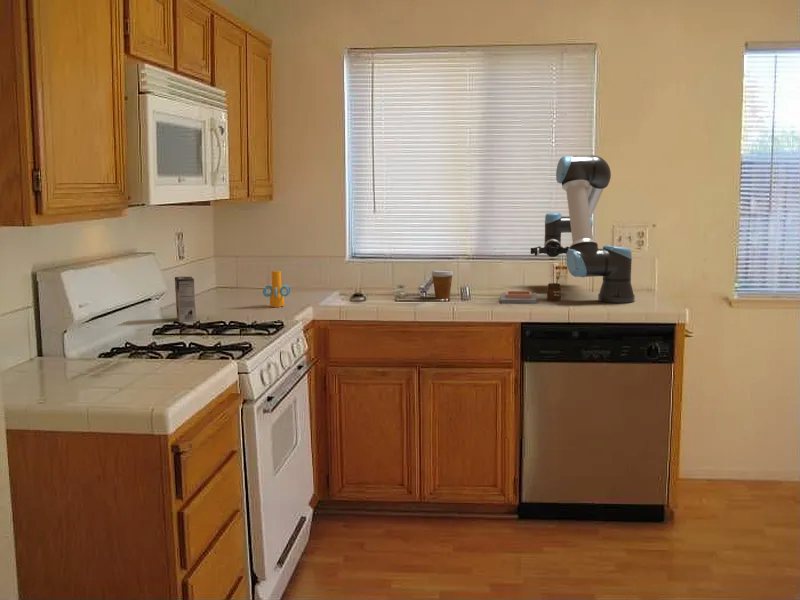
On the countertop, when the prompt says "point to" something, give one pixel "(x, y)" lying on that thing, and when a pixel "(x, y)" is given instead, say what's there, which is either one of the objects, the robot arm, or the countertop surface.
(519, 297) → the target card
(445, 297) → the disposable coffee cup
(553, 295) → the utensil holder
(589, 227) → the robot arm
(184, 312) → the coffee box
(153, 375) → the countertop surface
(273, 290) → the cylinder
